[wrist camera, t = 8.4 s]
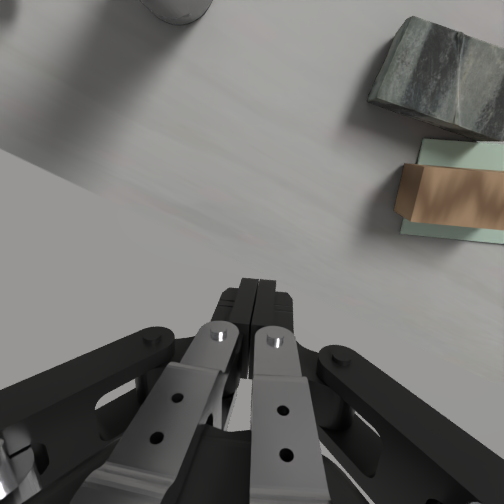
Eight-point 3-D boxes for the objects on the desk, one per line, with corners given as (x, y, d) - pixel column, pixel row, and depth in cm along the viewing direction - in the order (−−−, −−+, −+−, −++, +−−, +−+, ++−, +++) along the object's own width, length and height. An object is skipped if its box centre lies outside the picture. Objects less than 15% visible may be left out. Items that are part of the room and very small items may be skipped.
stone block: (400, 18, 34) (419, -4, 29) (521, 62, 34) (561, 48, 29) (364, 102, 37) (376, 96, 32) (476, 143, 37) (505, 142, 32)
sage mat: (422, 138, 38) (424, 138, 37) (545, 147, 36) (548, 147, 36) (399, 233, 42) (400, 233, 41) (509, 243, 41) (511, 244, 40)
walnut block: (424, 166, 33) (546, 175, 32) (404, 162, 38) (507, 170, 37) (410, 222, 35) (524, 232, 34) (393, 211, 40) (490, 219, 39)
